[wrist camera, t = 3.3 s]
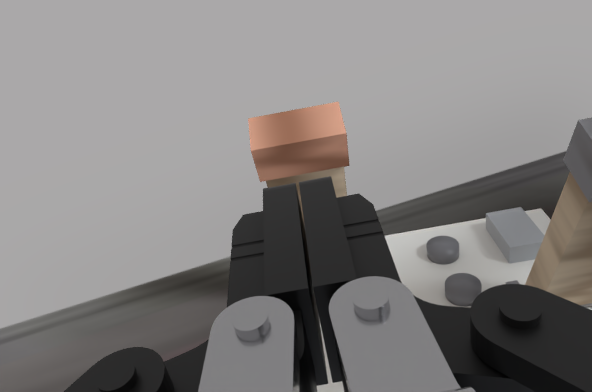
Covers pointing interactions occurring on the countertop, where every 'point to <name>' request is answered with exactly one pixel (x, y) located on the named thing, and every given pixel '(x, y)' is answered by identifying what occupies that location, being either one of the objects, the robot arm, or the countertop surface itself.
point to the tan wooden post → (570, 228)
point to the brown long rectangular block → (301, 146)
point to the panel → (464, 259)
